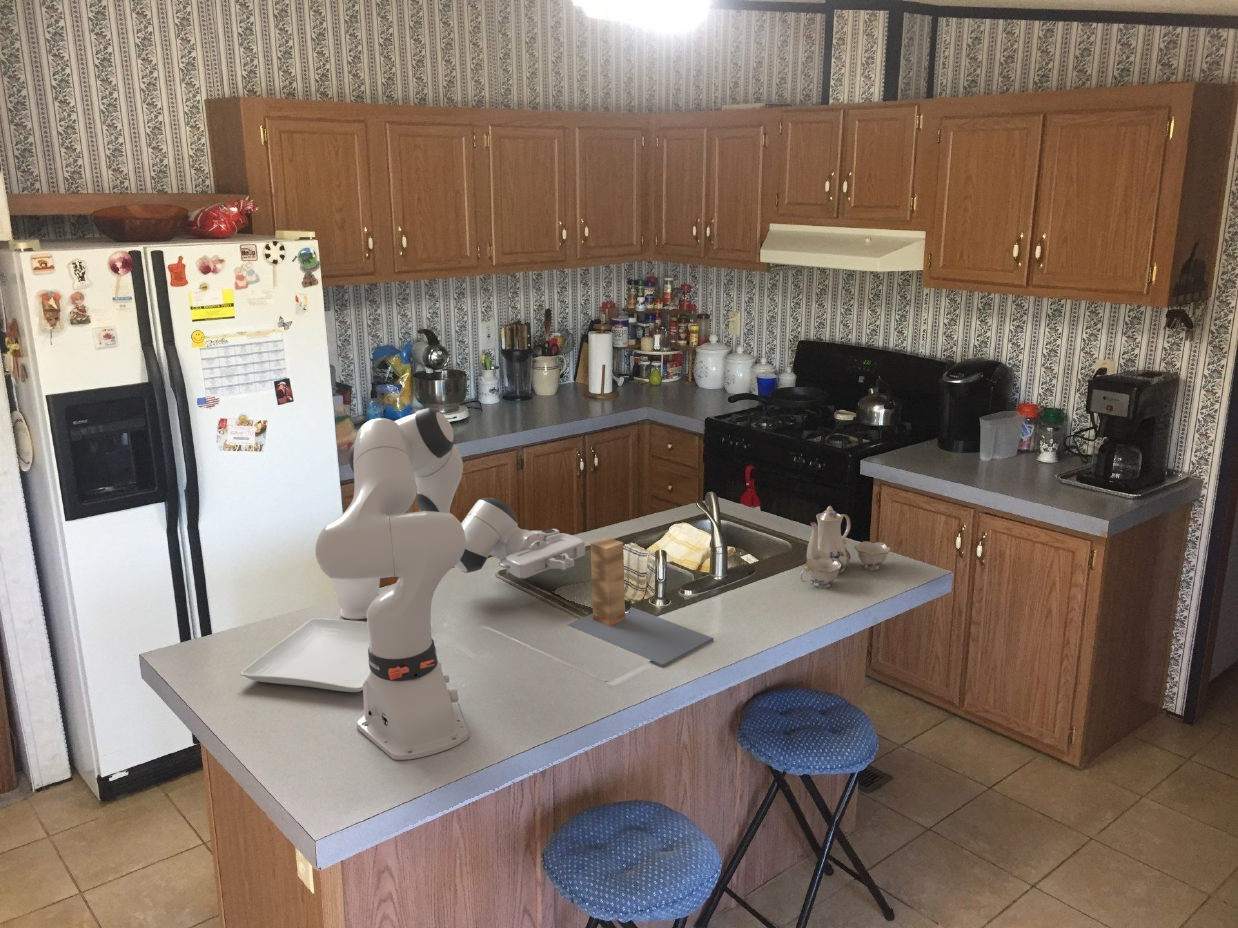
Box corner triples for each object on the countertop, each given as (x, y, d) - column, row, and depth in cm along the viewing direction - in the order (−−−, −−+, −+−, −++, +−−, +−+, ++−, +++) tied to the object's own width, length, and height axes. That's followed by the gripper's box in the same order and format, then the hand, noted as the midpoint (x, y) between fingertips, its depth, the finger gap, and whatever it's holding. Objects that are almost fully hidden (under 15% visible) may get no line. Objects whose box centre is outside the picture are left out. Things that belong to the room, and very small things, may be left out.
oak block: (593, 619, 225) (590, 543, 220) (609, 612, 228) (606, 537, 223) (609, 626, 221) (606, 548, 216) (625, 618, 225) (623, 542, 220)
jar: (389, 603, 237) (383, 543, 233) (374, 622, 227) (368, 560, 223) (345, 602, 238) (338, 543, 234) (328, 621, 229) (321, 559, 224)
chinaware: (826, 603, 235) (835, 538, 229) (771, 576, 247) (778, 514, 241) (896, 571, 253) (906, 509, 247) (842, 547, 264) (850, 488, 258)
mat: (567, 627, 223) (567, 624, 223) (618, 604, 234) (617, 601, 234) (662, 667, 204) (662, 664, 204) (712, 640, 215) (712, 637, 215)
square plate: (426, 642, 219) (424, 625, 217) (362, 705, 193) (360, 686, 192) (314, 630, 226) (312, 613, 225) (239, 689, 200) (236, 671, 199)
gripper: (494, 550, 232) (534, 565, 222) (560, 526, 246) (600, 539, 236) (495, 575, 233) (535, 591, 224) (561, 551, 247) (601, 565, 238)
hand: (569, 564), depth 230 cm, fingers closed
